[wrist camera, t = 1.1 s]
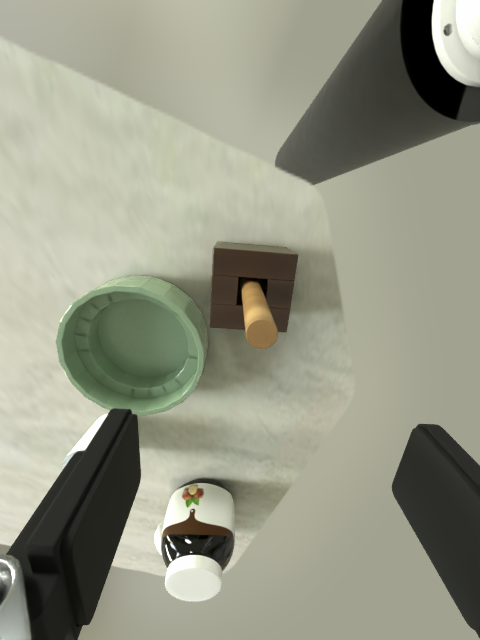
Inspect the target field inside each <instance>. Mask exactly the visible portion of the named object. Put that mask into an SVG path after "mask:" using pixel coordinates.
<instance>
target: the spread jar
mask: <svg viewBox="0 0 480 640" xmlns="http://www.w3.org/2000/svg"><path fill="white" fill-rule="evenodd" d="M154 540H155V545H156V548H157V550H158V551H159V553H160V554H161V555H162V556H163V560H164V562H165V565H166V567H167V568H168V570H167V575H166V580H165V587H166V589H167V591H168V592H169V594H171V595H172V596H173V597H175V598H177V599H180V600H183V601H190V602H198V601H204V600H208V599H210V598H212V597H214V596H215V595H217V594H218V593H219V591H220V589H221V586H222V571H223V570H224V569H225V568H226V566H227V565H228V563H229V561H230V559H231V557H232V553H233V549H234V542H235V508H234V502H233V498H232V496H231V494H230V492H229V491H228V490H227V489H226V488H225V487H224V486H223V485H221V484H219V483H217V482H215V481H212V480H208V479H197V480H193V481H190V482H188V483H186V484H184V485H182V486H181V487H179V488H178V489H177V490H176V491H175V492H174V493H173V495H172V497H171V499H170V502H169V505H168V508H167V512H166V517H165V519H163V520H162V521H161V523H160V524H159V526H158V528H157V530H156V532H155V536H154Z"/></svg>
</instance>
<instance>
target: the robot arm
mask: <svg viewBox="0 0 480 640" xmlns="http://www.w3.org/2000/svg"><path fill="white" fill-rule="evenodd" d="M432 36H433V41H434V46H435V50H436V53H437V55H438V58H439V60H440V62H441V64H442V65H443V67H444V68H445V70H446V71H447V72H448V73H449V74H450V75H451V76H452V77H453V78H454V79H456V80H457V81H459V82H461V83H463V84H465V85H468V86H474V87H480V0H434V4H433V14H432ZM140 479H141V468H140V452H139V435H138V419H137V414H132V411H131V409H119V408H113V409H111V410H110V412H109V413H108V415H107V417H106V418H105V420H104V421H103V423H102V424H101V426H100V428H99V429H98V431H97V432H96V434H95V435H94V437H93V439H92V440H91V442H90V443H89V445H88V446H87V448H86V450H85V451H78V452H76V453H75V454H74V455H73V456H72V457H71V459H70V460H69V462H68V463H67V465H66V466H65V468H64V469H63V471H62V472H61V473H60V475H59V476H58V478H57V479H56V481H55V482H54V484H53V485H52V487H51V488H50V490H49V491H48V493H47V494H46V496H45V497H44V499H43V500H42V502H41V503H40V505H39V506H38V508H37V509H36V511H35V512H34V514H33V515H32V517H31V518H30V520H29V521H28V523H27V524H26V526H25V527H24V528H23V530H22V531H21V533H20V534H19V536H18V537H17V539H16V540H15V542H14V543H13V545H12V546H11V548H10V549H9V551H8V552H7V554H6V555H3V554H0V640H77V639H78V637H79V634H80V631H81V628H82V626H83V625H89V623H90V622H91V620H92V618H93V615H94V613H95V610H96V607H97V604H98V601H99V599H100V596H101V592H102V590H103V587H104V584H105V581H106V579H107V576H108V573H109V570H110V567H111V564H112V562H113V559H114V556H115V553H116V550H117V547H118V544H119V542H120V539H121V536H122V533H123V530H124V527H125V524H126V522H127V519H128V516H129V513H130V510H131V507H132V505H133V502H134V499H135V496H136V493H137V490H138V487H139V484H140ZM392 491H393V494H394V497H395V499H396V500H397V502H398V504H399V506H400V507H401V509H402V510H403V512H404V514H405V516H406V518H407V520H408V521H409V523H410V525H411V526H412V528H413V530H414V532H415V533H416V535H417V537H418V539H419V541H420V542H421V544H422V546H423V548H424V549H425V551H426V553H427V554H428V556H429V558H430V560H431V562H432V563H433V565H434V567H435V568H436V570H437V572H438V574H439V576H440V577H441V579H442V581H443V582H444V584H445V586H446V588H447V590H448V591H449V593H450V595H451V597H452V598H453V600H454V602H455V604H456V605H457V607H458V609H459V610H460V612H461V614H462V616H463V617H464V619H465V621H466V622H467V624H468V625H469V626H470V627H471V628H472V629H474V630H475V631H476V632H477V634H478V636H479V638H480V466H479V465H478V463H476V461H475V460H474V459H473V458H471V456H470V455H469V454H467V452H466V451H465V450H464V449H463V448H462V447H461V446H460V445H459V444H458V443H457V442H456V441H455V440H454V439H453V438H452V437H451V436H450V435H449V434H448V433H447V432H446V431H445V430H444V429H443V428H442V427H440V426H439V425H434V424H419V425H417V427H416V428H414V429H413V430H412V432H411V435H410V438H409V440H408V443H407V446H406V448H405V451H404V454H403V457H402V459H401V462H400V464H399V467H398V470H397V472H396V475H395V478H394V481H393V483H392Z"/></svg>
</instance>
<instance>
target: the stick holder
mask: <svg viewBox="0 0 480 640" xmlns="http://www.w3.org/2000/svg"><path fill="white" fill-rule="evenodd" d="M297 260H298V254H296V253H295V252H293V251H291V250H290V249H288V248H286V247H275V246H263V245H251V244H238V243H226V242H217V243H216V245H215V246H214V248H213V264H212V285H211V308H210V327H213V328H228V329H243V330H245V322H244V312H243V302H242V292H241V290H238V279H239V277H248V278H261V288H262V290H263V293H264V296H265V298H266V301H267V304H268V306H269V309H270V311H271V314H272V317H273V319H274V322H275V325H276V327H277V330H278V332H287V326H288V320H289V313H290V306H291V300H292V293H293V287H294V280H295V273H296V266H297Z"/></svg>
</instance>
